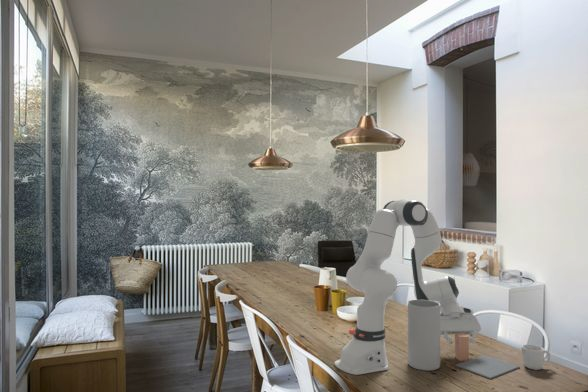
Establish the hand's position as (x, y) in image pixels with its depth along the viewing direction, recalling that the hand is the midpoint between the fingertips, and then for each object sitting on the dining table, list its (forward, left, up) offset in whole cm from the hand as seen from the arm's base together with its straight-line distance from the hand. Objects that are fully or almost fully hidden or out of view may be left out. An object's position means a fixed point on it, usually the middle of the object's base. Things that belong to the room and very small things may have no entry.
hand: (461, 343), depth 179 cm
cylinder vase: (-19, +4, -7) cm, 21 cm away
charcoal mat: (+1, -11, -7) cm, 13 cm away
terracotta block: (0, 0, -7) cm, 7 cm away
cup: (+17, -22, -7) cm, 29 cm away
